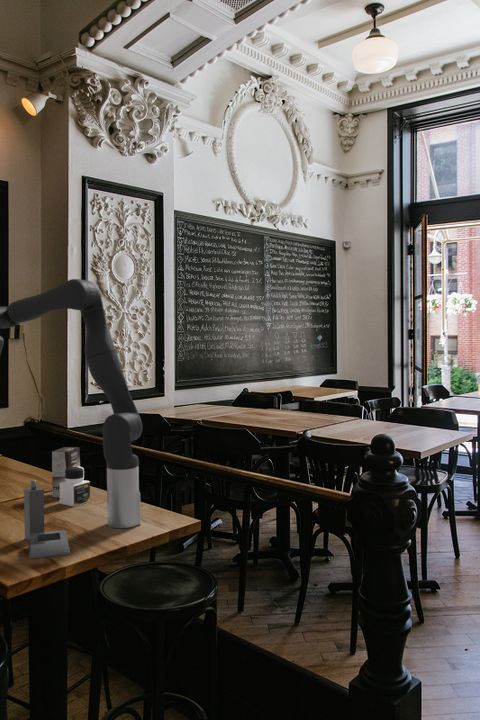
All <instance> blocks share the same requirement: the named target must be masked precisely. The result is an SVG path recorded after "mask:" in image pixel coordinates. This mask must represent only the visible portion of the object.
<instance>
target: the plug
mask: <svg viewBox="0 0 480 720" xmlns="http://www.w3.org/2000/svg"><path fill="white" fill-rule="evenodd" d="M44 494H45V489H44V488H42V487H40V486H37V479H32V480H30V487H27V488H23V504H24V505H23V509H24V511H23V512H24V513H23V514H24V540H26V541H27V542H28V543H29V544H31V534H33V533H42V532H46V531H45V495H44Z"/></svg>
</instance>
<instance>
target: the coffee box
mask: <svg viewBox="0 0 480 720" xmlns="http://www.w3.org/2000/svg"><path fill="white" fill-rule="evenodd" d="M80 451H81V449H80V447H78V446H75V447H74V446H72V447H71V446H70V447H68V446H65V447H61V448H58V449H55V450H53V451H51V469H52V471H51V474H52V476H51V479H52V489H51V490H52V493H51V494H52V495H51V497H52V498H60V483H61V482H65V481H66V480H65V470H66V469H67V468H69V467H74V466H79V467H81V459H80V458H81V457H80V455H81V454H80Z"/></svg>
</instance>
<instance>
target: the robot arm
mask: <svg viewBox="0 0 480 720" xmlns="http://www.w3.org/2000/svg"><path fill="white" fill-rule="evenodd" d="M59 310H74V311H80V314H81V316H82V319H83V322H84V325H85V330H86V333H85V342H84V343H85V344H84V357H85V360H86V363H87V366H88V370H89V373H90V375H91V377H92V378H93V381H94V382H95V383H96V384H97V385H98V387H99V388H100V389H101V391H102V392H103V393H104V394H105V396H106V397H107V399H108V401H109V403H110V406H111V409H112V412H113V414H110V415H108V416H107V417H106V419H104V422H103V425H102V449H103V457H104V459H105V462H106V487H107V488H106V497H107V498H106V501H107V503H106V505H107V510H106V511H107V526H108V527H110V528H113V529H128V528H133V527H135V526H139V525H141V523H142V522H141V520H142V519H141V518H142V517H141V492H140V489H139V488H140V487H139V486H140V484H139V483H140V482H139V475H140V474H139V456H138V455H136V454H134V453H133V451H132V442H134V441H136V440H138V439H140V437H141V436H142V432H143V427H144V426H143V422H142V419H141V416H140V413H139V411H138V409H137V407H136V405H135V402H134V399H133V397H132V395H131V393H130V390H129V387H128V384H127V380H126V378H125V373H124V372H123V369H122V365H121V361H120V358H119V355H118V352H117V349H116V347H115V344H114V341H113V338H112V335H111V330H110V328H109V325H108V321H107V319H106V313H105V307H104V302H103V299H102V294H101V292H100V289H99V287H98V286H97V284H95V283H94V282H93V281H91V280H87V279H86V280H85V279H80V278H79V279H78V278H73V279H69V280H67V281H64V282H63V283H61V284H58V285H57V286H55V287H53V288H51V289H49V290H47V291H44V292H41V293H39V294H35V295H31V296H29V297H24V298H21V299H17V300H14V301H13V302H11V303H9V305H8V306H7V305H6V306H0V329H9V328H13V327H16V326H18V325H20V324H22V323H26V322H30V321H32V320H36V319H40V318H41V317H43V316H45V315H46V314H48V313H50V312H54V311H59ZM4 343H5V341H4V338H3V336H1V335H0V355H1V353H2V350H3V347H4Z"/></svg>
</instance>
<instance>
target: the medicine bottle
mask: <svg viewBox="0 0 480 720" xmlns="http://www.w3.org/2000/svg"><path fill="white" fill-rule="evenodd" d="M84 478H85V469H84V467H82V466H80V467H79V466H74V467H69V468H67V469H66V470H65V480H66V481H65V482H61V483H60V497H59V504H61V505H64V506H67V507H68V506H69V507H79V506H80V505H85V504H86V503H89V502H91V484H90V483H91V481H89V480H84Z"/></svg>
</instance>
